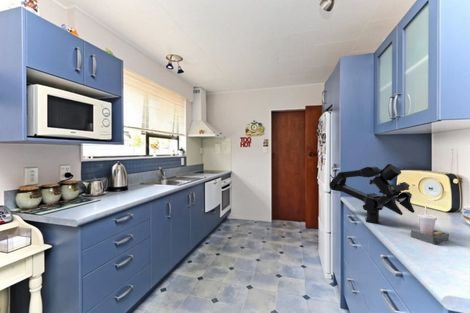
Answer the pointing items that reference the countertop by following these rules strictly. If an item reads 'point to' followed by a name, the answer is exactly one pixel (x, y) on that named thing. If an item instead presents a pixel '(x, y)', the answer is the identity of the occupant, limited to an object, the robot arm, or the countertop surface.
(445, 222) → the countertop surface
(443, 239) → the bracket
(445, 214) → the countertop surface
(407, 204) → the robot arm
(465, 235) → the countertop surface
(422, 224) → the smoothie
